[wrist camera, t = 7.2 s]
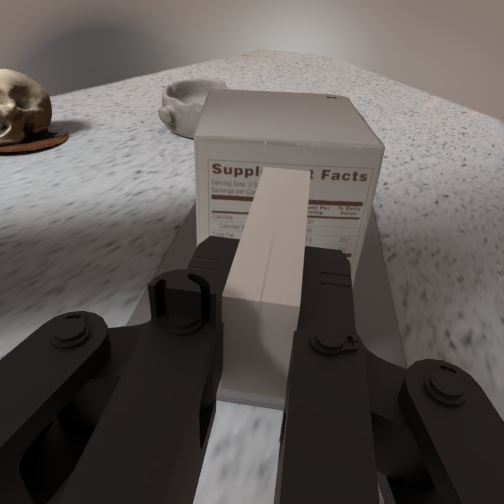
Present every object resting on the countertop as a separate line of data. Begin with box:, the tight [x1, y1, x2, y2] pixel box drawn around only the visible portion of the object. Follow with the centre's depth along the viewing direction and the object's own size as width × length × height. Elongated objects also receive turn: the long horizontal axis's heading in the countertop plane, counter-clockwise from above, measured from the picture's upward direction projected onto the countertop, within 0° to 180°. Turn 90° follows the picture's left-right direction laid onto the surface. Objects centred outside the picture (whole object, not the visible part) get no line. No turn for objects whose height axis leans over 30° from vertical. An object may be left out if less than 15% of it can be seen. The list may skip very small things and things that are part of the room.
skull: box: [0, 69, 69, 153], centre depth 49 cm, size 12×10×10 cm
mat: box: [126, 202, 407, 410], centre depth 31 cm, size 24×16×1 cm, turn 172°
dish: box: [158, 79, 228, 139], centre depth 56 cm, size 14×14×5 cm
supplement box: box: [194, 89, 385, 288], centre depth 22 cm, size 7×7×13 cm
